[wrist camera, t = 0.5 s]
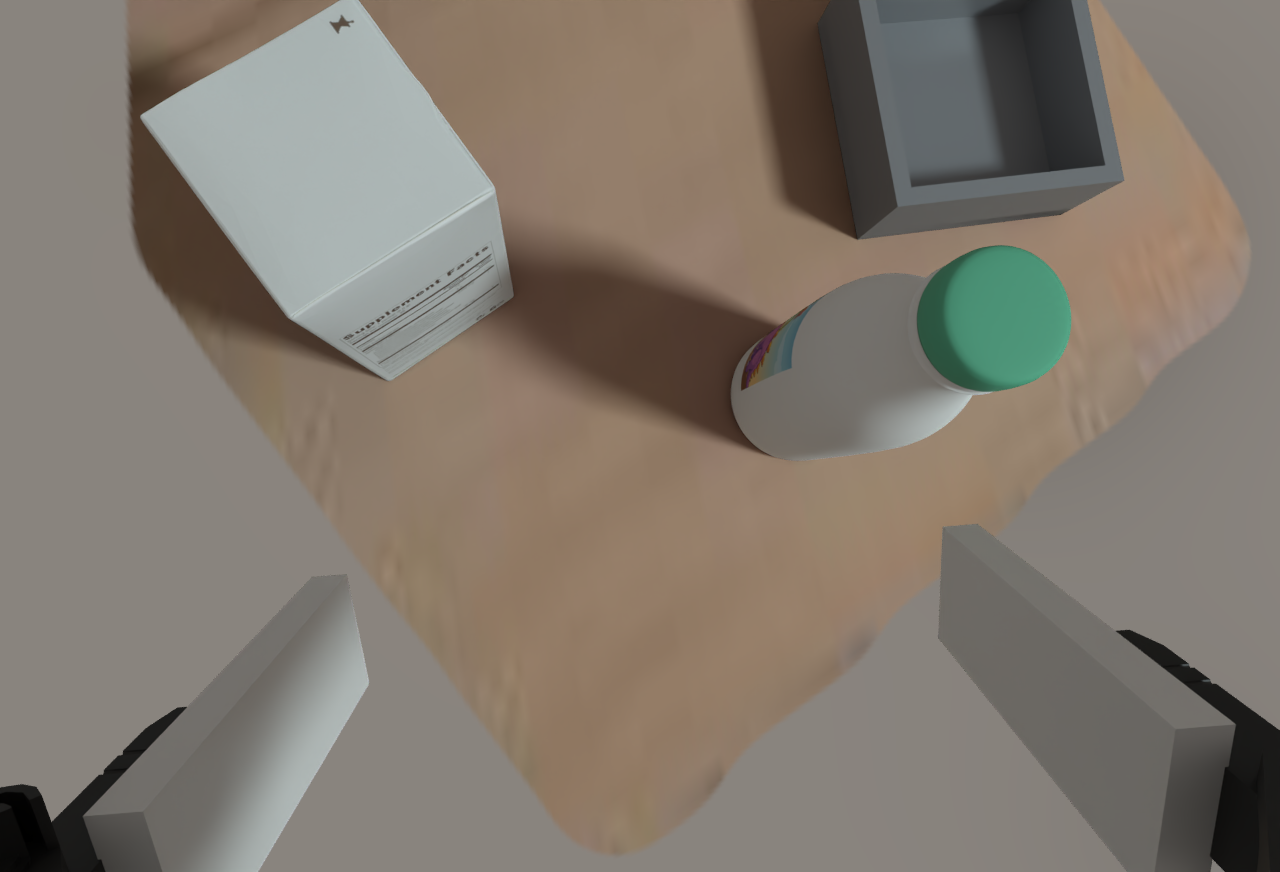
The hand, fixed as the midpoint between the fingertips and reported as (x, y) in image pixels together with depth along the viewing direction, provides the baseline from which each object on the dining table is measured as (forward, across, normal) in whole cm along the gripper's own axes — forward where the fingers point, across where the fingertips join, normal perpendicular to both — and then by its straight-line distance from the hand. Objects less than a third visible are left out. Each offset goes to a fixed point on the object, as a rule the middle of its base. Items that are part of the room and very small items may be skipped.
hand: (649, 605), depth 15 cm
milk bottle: (+27, +9, -2) cm, 28 cm away
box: (+34, +21, +14) cm, 42 cm away
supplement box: (+27, -12, +7) cm, 30 cm away
